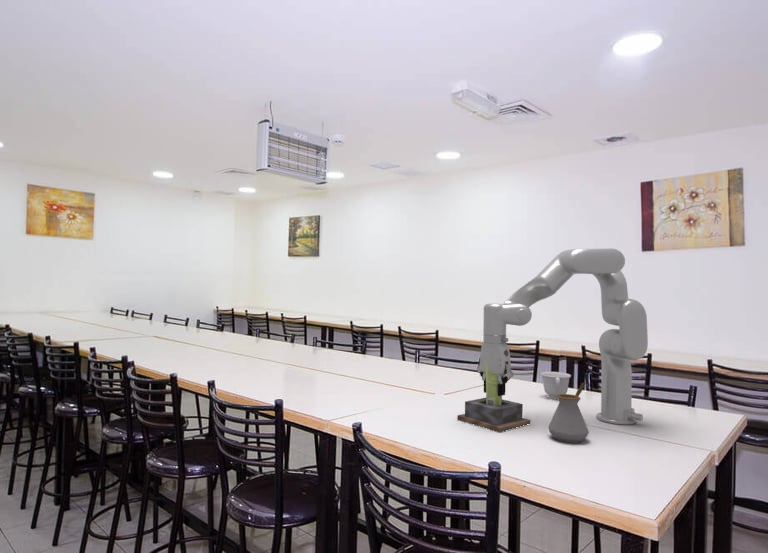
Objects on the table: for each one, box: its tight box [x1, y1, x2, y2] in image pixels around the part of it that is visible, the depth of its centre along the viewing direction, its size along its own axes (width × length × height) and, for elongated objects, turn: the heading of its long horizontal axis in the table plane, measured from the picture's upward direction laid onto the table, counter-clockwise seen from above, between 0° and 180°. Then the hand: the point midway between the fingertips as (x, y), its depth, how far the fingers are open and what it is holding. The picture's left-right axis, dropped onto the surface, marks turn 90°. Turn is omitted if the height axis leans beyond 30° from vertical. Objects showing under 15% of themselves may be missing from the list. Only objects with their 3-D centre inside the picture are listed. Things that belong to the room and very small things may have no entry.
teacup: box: [540, 371, 572, 400], centre depth 202 cm, size 12×15×10 cm
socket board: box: [456, 397, 531, 433], centre depth 164 cm, size 18×16×6 cm
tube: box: [485, 362, 503, 407], centre depth 165 cm, size 6×5×20 cm
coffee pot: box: [547, 382, 590, 444], centre depth 151 cm, size 21×12×15 cm, turn 141°
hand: (494, 393), depth 165 cm, fingers closed on tube, 5 cm apart
